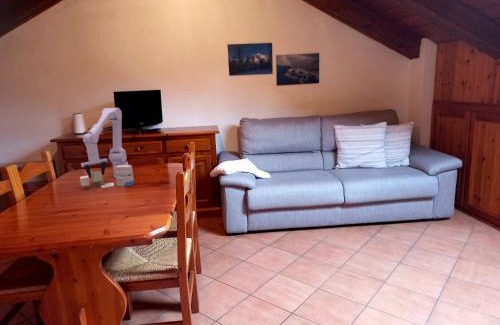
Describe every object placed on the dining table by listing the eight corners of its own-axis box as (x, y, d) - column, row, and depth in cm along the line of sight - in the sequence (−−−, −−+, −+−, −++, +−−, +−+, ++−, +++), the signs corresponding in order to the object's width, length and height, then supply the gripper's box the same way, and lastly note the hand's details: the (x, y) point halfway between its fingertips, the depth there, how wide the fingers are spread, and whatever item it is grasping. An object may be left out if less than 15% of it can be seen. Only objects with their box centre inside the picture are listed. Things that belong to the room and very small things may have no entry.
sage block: (99, 179, 208) (98, 171, 207) (102, 180, 205) (101, 172, 204) (92, 180, 205) (90, 172, 204) (94, 182, 202) (93, 174, 201)
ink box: (134, 183, 206) (132, 164, 203) (131, 186, 201) (128, 166, 198) (121, 183, 206) (118, 165, 204) (117, 186, 202) (114, 167, 199)
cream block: (89, 183, 211) (88, 175, 210) (89, 185, 207) (88, 177, 206) (81, 184, 210) (80, 176, 208) (81, 186, 206) (80, 178, 204)
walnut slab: (104, 183, 210) (103, 178, 209) (104, 185, 204) (104, 181, 203) (91, 185, 207) (91, 180, 207) (92, 188, 201) (91, 183, 200)
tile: (113, 183, 209) (113, 182, 208) (114, 186, 202) (114, 185, 202) (101, 185, 206) (100, 184, 206) (101, 188, 200) (101, 187, 199)
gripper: (102, 150, 209) (106, 172, 212) (77, 155, 199) (81, 177, 202) (107, 152, 204) (110, 174, 207) (81, 156, 194) (85, 179, 197)
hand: (96, 176), depth 204 cm, fingers open, 7 cm apart
